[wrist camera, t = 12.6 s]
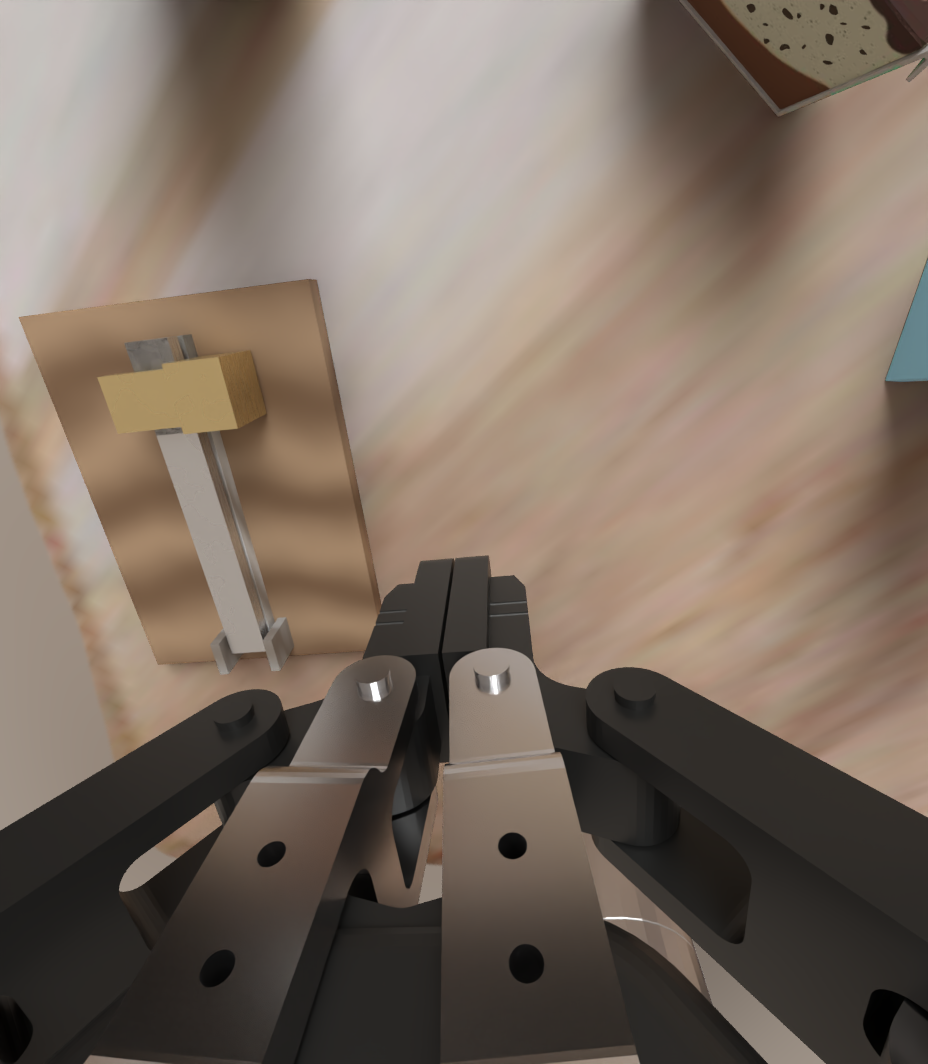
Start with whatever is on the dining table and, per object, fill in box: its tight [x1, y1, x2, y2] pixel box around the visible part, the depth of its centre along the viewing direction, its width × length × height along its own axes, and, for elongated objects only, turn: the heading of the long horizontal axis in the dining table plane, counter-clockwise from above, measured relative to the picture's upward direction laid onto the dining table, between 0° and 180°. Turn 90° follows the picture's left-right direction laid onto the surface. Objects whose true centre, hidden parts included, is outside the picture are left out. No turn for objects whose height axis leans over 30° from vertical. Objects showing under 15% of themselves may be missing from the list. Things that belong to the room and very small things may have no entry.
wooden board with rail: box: [19, 279, 381, 674], centre depth 34 cm, size 24×17×4 cm
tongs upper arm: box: [124, 336, 268, 654], centre depth 33 cm, size 20×2×1 cm, turn 7°
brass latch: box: [97, 350, 267, 434], centre depth 30 cm, size 4×7×4 cm, turn 97°
